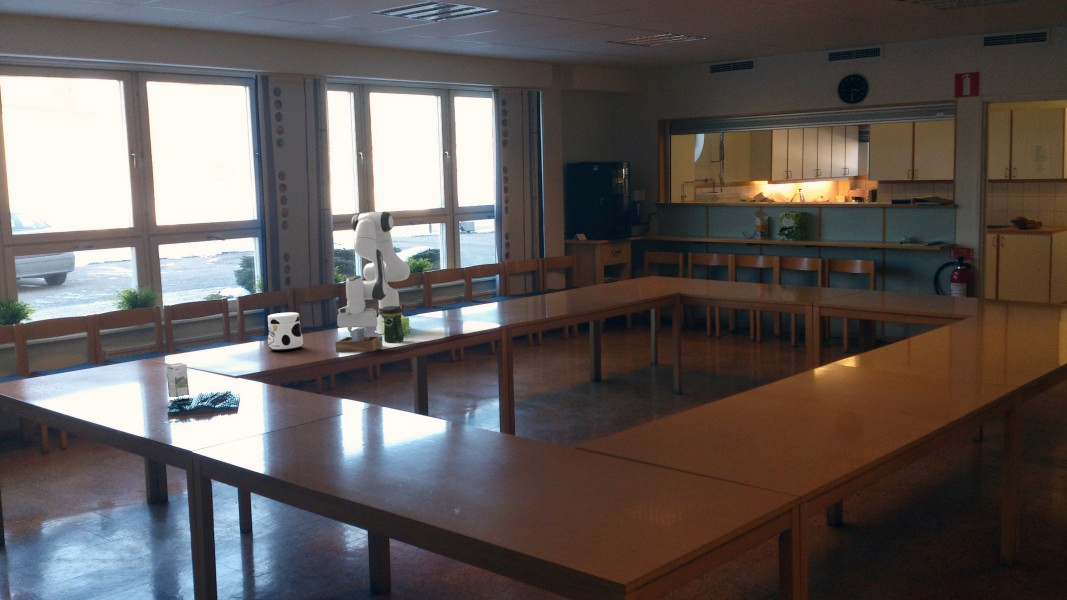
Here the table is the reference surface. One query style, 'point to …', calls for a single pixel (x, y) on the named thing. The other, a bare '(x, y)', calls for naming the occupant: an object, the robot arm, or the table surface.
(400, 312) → the coffee jar
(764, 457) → the table surface
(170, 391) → the syrup box
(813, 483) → the table surface
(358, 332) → the light blue thin block
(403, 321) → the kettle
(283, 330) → the milk container
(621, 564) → the table surface
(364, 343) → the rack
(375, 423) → the table surface
